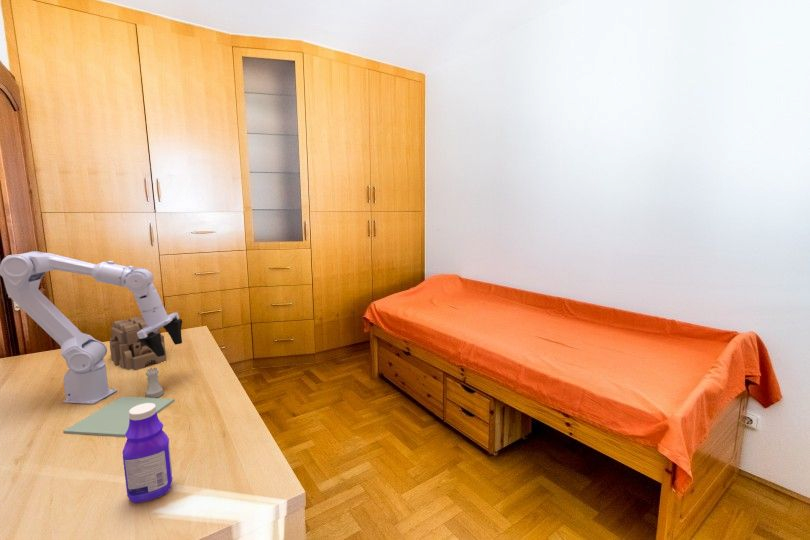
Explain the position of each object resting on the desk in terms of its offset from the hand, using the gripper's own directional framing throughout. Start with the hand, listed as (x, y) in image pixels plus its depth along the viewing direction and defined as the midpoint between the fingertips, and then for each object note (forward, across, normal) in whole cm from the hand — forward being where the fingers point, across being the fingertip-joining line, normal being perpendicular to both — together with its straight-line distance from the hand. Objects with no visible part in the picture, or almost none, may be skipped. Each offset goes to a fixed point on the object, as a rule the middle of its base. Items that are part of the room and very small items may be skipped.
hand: (170, 349), depth 113 cm
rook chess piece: (+10, -8, +4) cm, 13 cm away
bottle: (+13, -43, -24) cm, 51 cm away
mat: (+9, -18, +4) cm, 21 cm away
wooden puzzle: (+7, +18, +30) cm, 36 cm away
